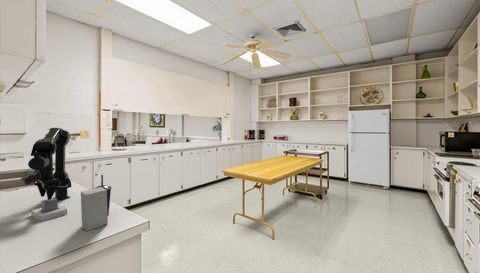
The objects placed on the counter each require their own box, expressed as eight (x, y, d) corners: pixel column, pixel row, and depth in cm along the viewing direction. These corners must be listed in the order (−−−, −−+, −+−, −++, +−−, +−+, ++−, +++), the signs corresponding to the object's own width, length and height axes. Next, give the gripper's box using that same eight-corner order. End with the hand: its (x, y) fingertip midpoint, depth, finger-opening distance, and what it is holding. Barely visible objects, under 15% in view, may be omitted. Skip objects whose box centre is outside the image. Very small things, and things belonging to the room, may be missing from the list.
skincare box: (102, 220, 99) (102, 186, 98) (108, 225, 94) (108, 189, 94) (80, 227, 92) (79, 190, 92) (85, 232, 88) (85, 193, 87)
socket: (31, 215, 103) (31, 209, 103) (57, 209, 112) (57, 203, 112) (40, 221, 97) (40, 214, 97) (67, 214, 106) (67, 207, 105)
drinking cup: (89, 217, 102) (88, 175, 101) (105, 212, 109) (105, 172, 108) (98, 221, 98) (98, 177, 97) (115, 215, 105) (114, 174, 104)
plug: (41, 215, 104) (41, 200, 103) (54, 211, 108) (54, 197, 107) (44, 217, 101) (44, 201, 101) (57, 213, 106) (57, 198, 105)
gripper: (16, 167, 104) (17, 199, 105) (29, 171, 94) (30, 206, 95) (46, 164, 114) (46, 193, 114) (60, 167, 104) (61, 199, 104)
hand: (46, 198), depth 107 cm, fingers open, 9 cm apart
